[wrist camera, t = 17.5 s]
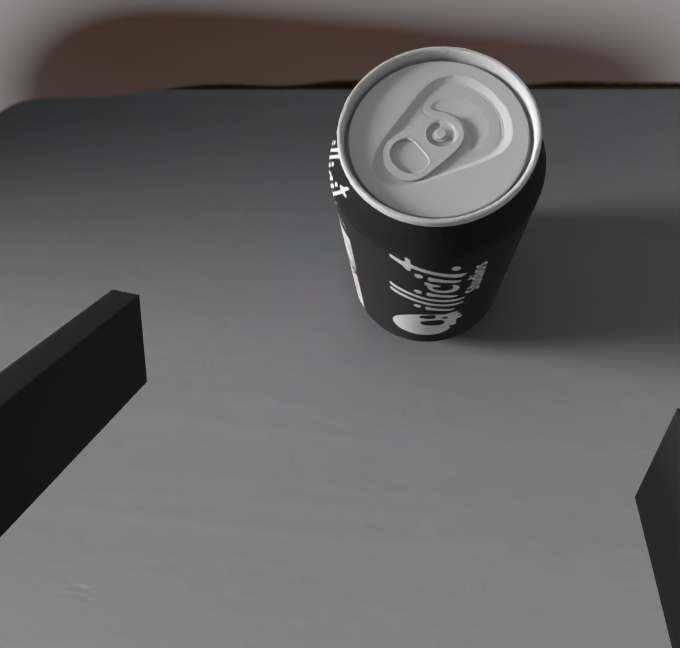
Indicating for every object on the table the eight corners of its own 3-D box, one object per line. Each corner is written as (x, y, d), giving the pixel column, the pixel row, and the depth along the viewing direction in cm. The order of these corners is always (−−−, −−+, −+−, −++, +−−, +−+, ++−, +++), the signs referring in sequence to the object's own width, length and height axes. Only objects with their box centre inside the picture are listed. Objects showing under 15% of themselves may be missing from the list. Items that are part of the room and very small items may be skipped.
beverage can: (525, 290, 27) (611, 143, 16) (412, 374, 27) (416, 284, 15) (437, 191, 29) (455, -5, 18) (329, 267, 29) (277, 117, 17)
